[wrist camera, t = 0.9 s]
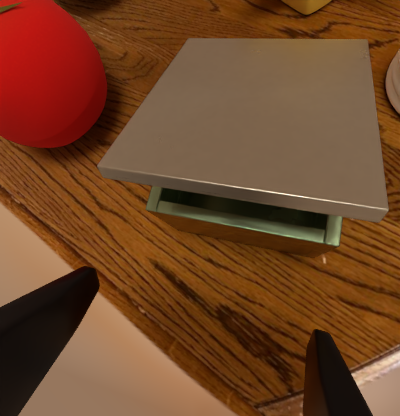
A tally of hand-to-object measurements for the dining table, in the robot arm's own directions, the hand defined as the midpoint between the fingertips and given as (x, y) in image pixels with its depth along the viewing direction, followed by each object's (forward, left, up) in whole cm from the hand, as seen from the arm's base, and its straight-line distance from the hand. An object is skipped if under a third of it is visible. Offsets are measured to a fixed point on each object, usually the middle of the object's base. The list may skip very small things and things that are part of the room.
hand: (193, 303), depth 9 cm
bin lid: (+10, +2, -4) cm, 11 cm away
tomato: (+10, +24, -14) cm, 30 cm away
